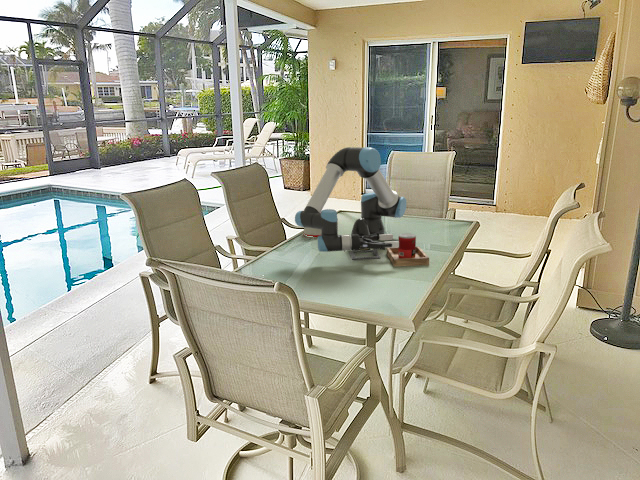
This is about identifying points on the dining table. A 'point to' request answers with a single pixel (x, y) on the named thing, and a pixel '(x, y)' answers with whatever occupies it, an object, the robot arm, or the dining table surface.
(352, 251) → the frame
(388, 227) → the dining table surface
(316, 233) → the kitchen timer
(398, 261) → the tray
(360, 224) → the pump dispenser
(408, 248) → the canned food
